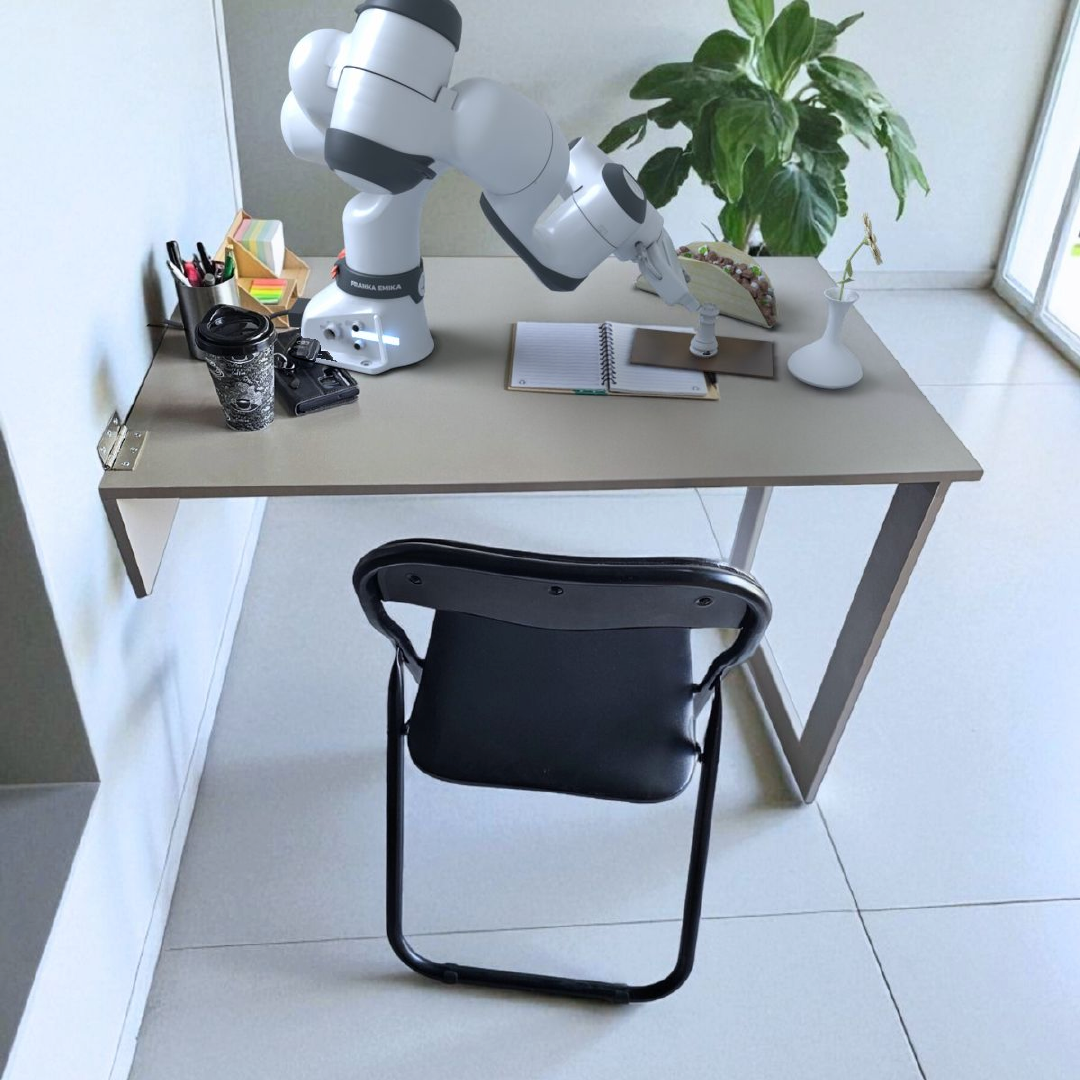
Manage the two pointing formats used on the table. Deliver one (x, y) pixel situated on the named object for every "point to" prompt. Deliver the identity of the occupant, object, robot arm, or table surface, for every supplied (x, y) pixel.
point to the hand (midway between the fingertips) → (691, 294)
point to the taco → (726, 281)
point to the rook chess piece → (706, 331)
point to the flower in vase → (834, 334)
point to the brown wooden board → (676, 354)
